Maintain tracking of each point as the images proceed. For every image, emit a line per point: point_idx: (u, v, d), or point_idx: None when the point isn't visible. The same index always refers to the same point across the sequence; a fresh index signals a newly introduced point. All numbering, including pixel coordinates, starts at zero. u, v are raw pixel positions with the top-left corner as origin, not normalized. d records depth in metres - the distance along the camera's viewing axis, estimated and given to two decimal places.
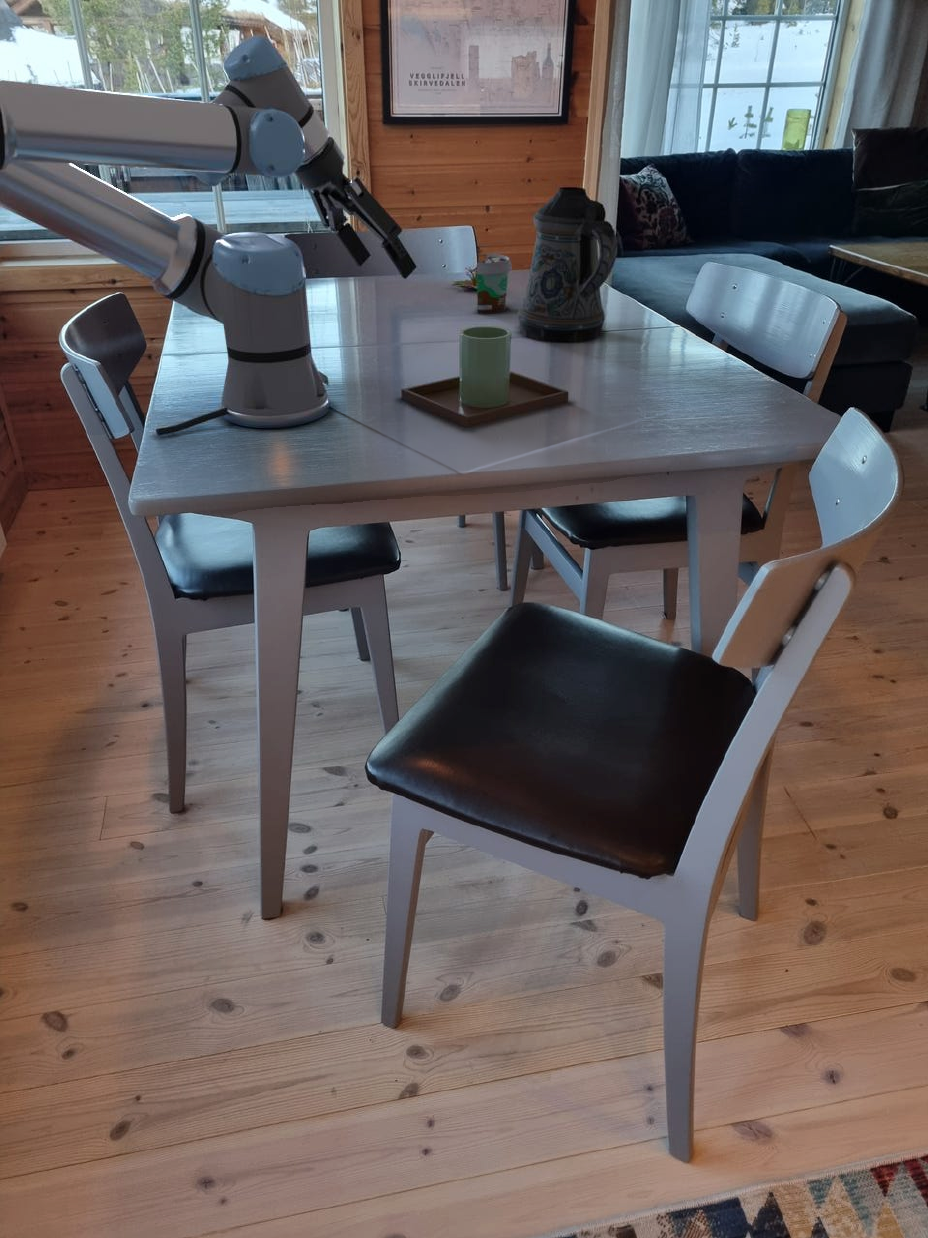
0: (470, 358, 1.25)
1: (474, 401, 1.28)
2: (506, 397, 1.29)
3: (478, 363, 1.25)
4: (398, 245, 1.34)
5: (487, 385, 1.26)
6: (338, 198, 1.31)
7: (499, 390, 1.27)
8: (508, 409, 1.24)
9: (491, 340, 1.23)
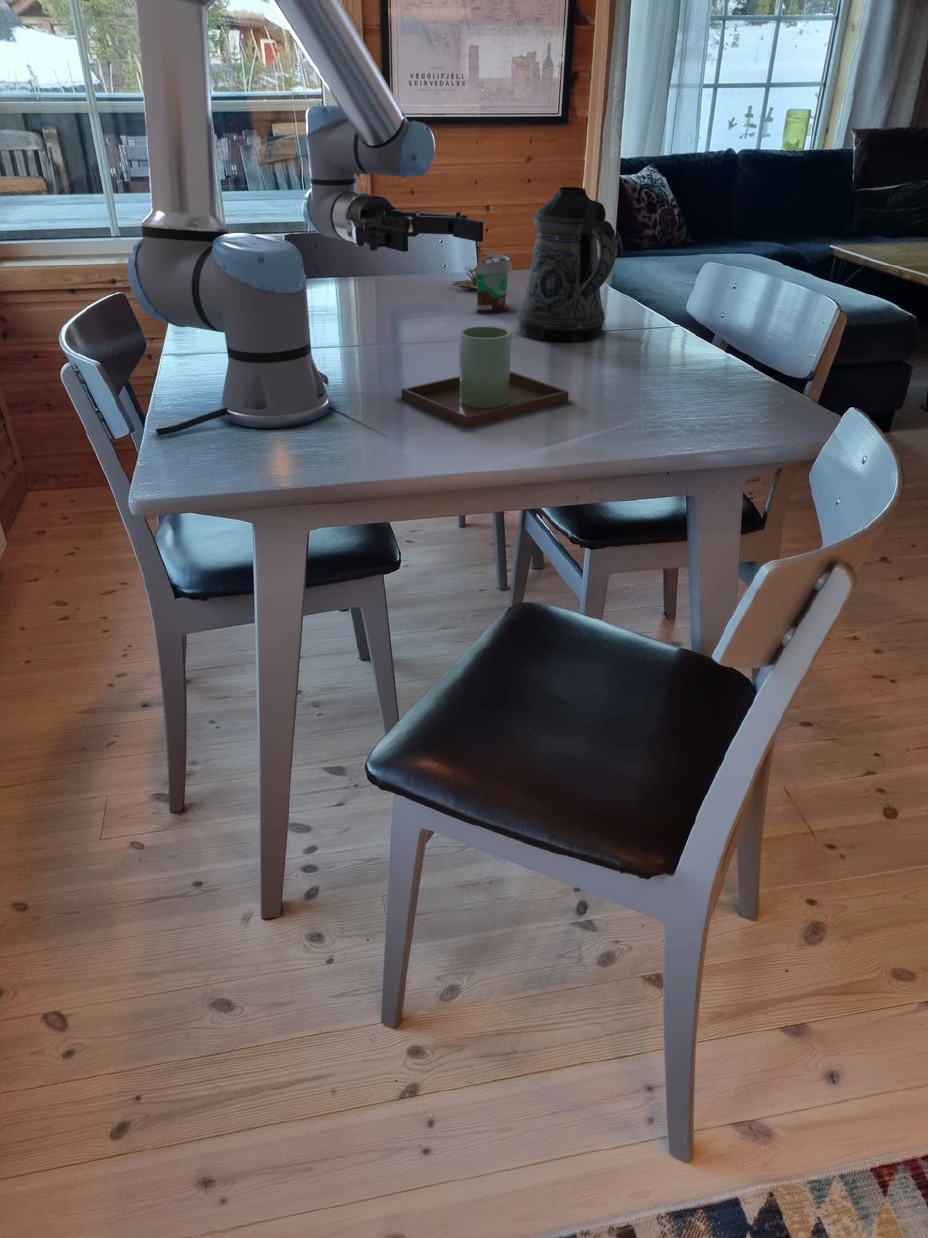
0: (470, 358, 1.25)
1: (474, 401, 1.28)
2: (506, 397, 1.29)
3: (478, 363, 1.25)
4: None
5: (487, 385, 1.26)
6: None
7: (499, 390, 1.27)
8: (508, 409, 1.24)
9: (491, 340, 1.23)
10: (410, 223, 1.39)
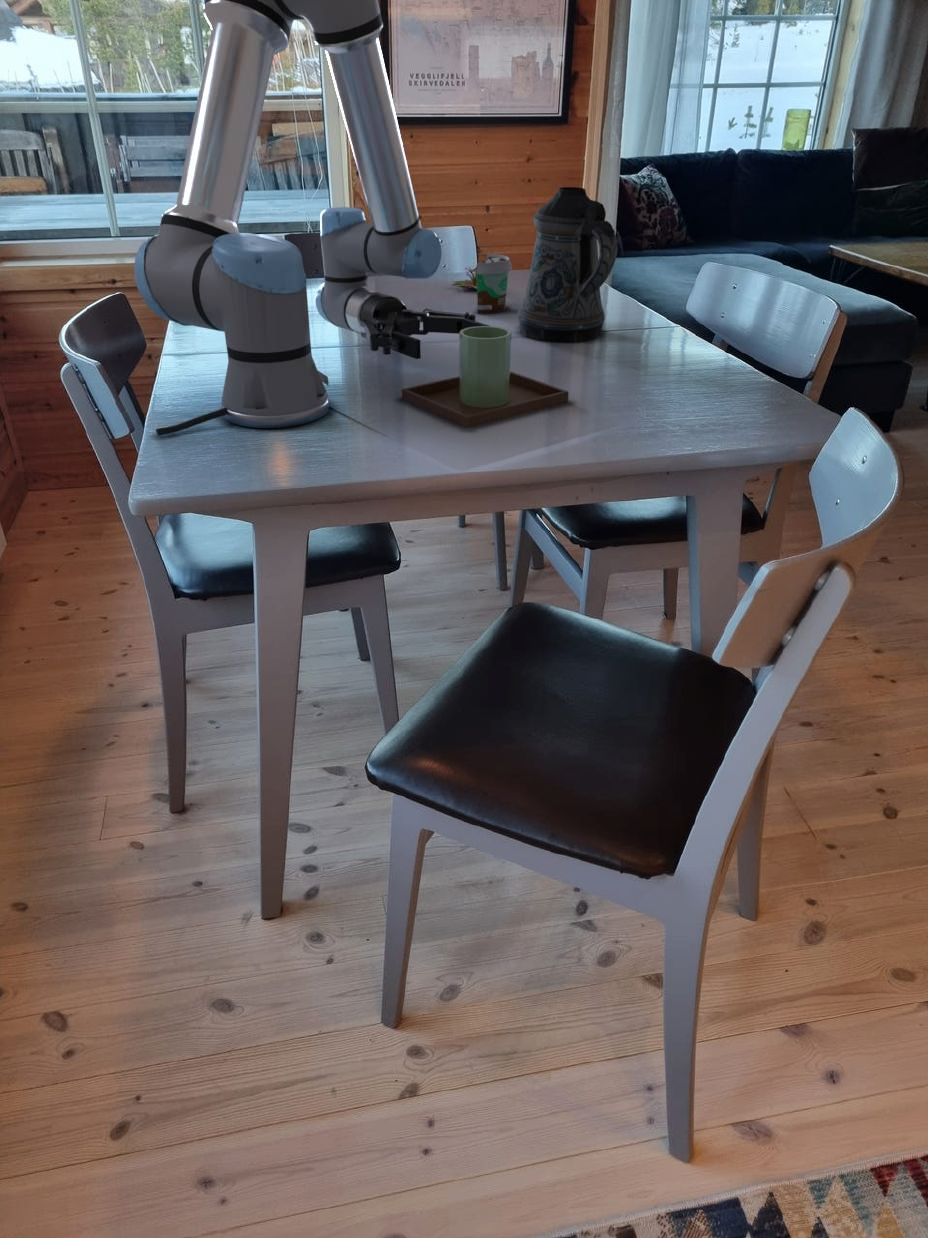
0: (470, 358, 1.25)
1: (474, 401, 1.28)
2: (506, 397, 1.29)
3: (478, 363, 1.25)
4: None
5: (487, 385, 1.26)
6: None
7: (499, 390, 1.27)
8: (508, 409, 1.24)
9: (491, 340, 1.23)
10: (420, 321, 1.45)
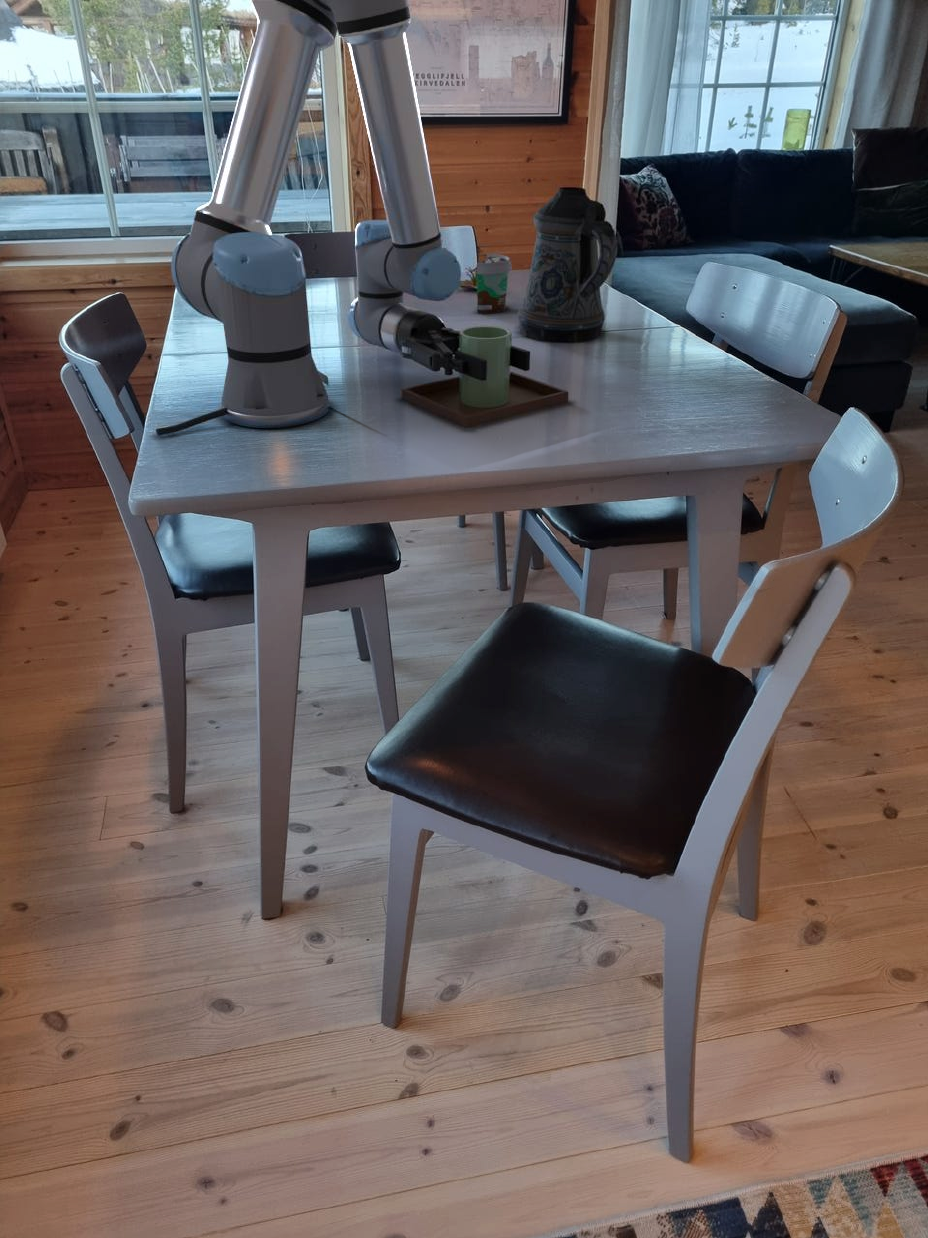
0: None
1: (474, 401, 1.28)
2: (506, 397, 1.29)
3: None
4: None
5: (486, 385, 1.26)
6: None
7: (499, 390, 1.27)
8: (508, 409, 1.24)
9: (491, 340, 1.23)
10: None
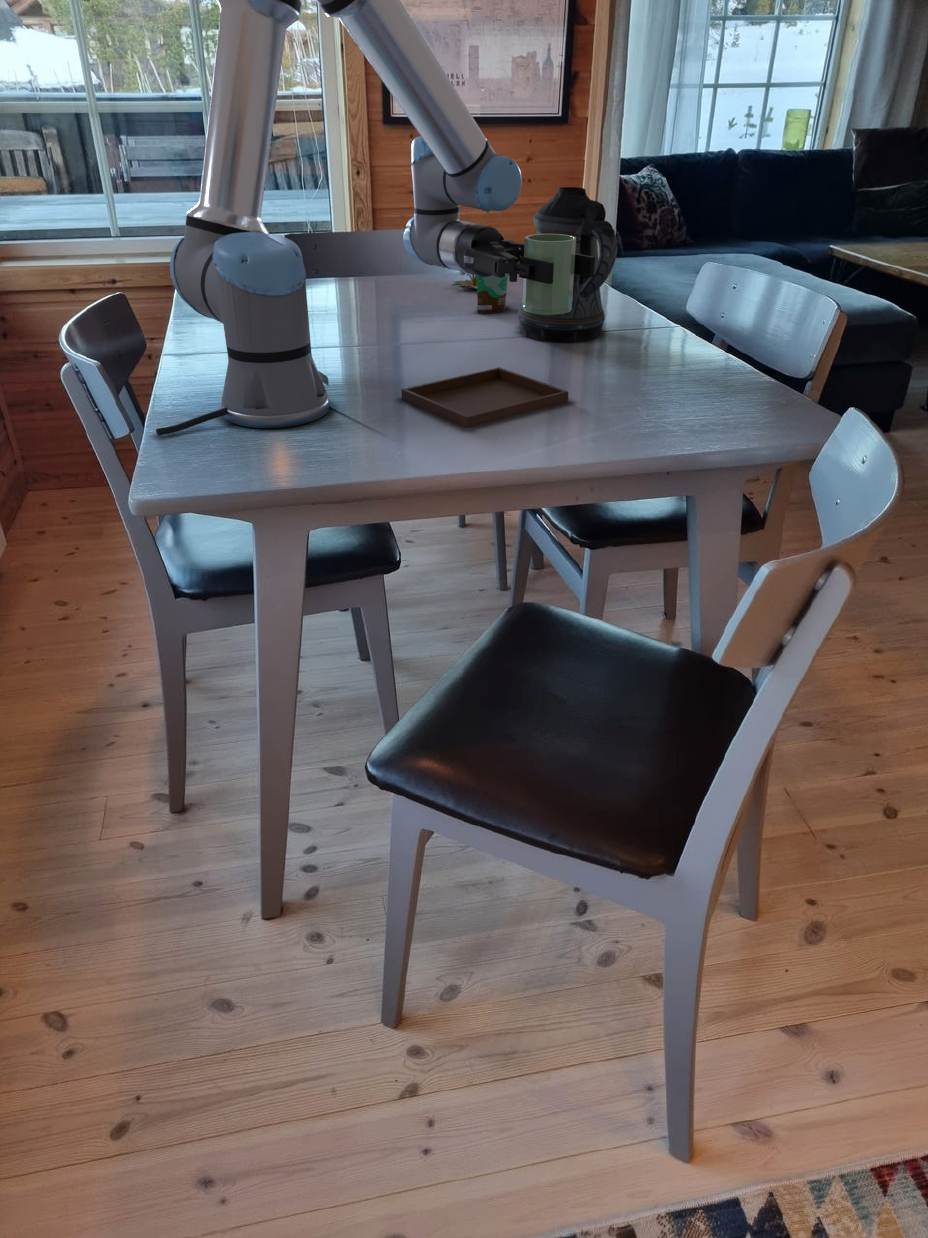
0: None
1: (538, 308, 1.28)
2: (570, 305, 1.29)
3: None
4: None
5: (551, 291, 1.26)
6: None
7: (564, 297, 1.28)
8: (508, 409, 1.24)
9: (558, 243, 1.23)
10: (520, 253, 1.38)
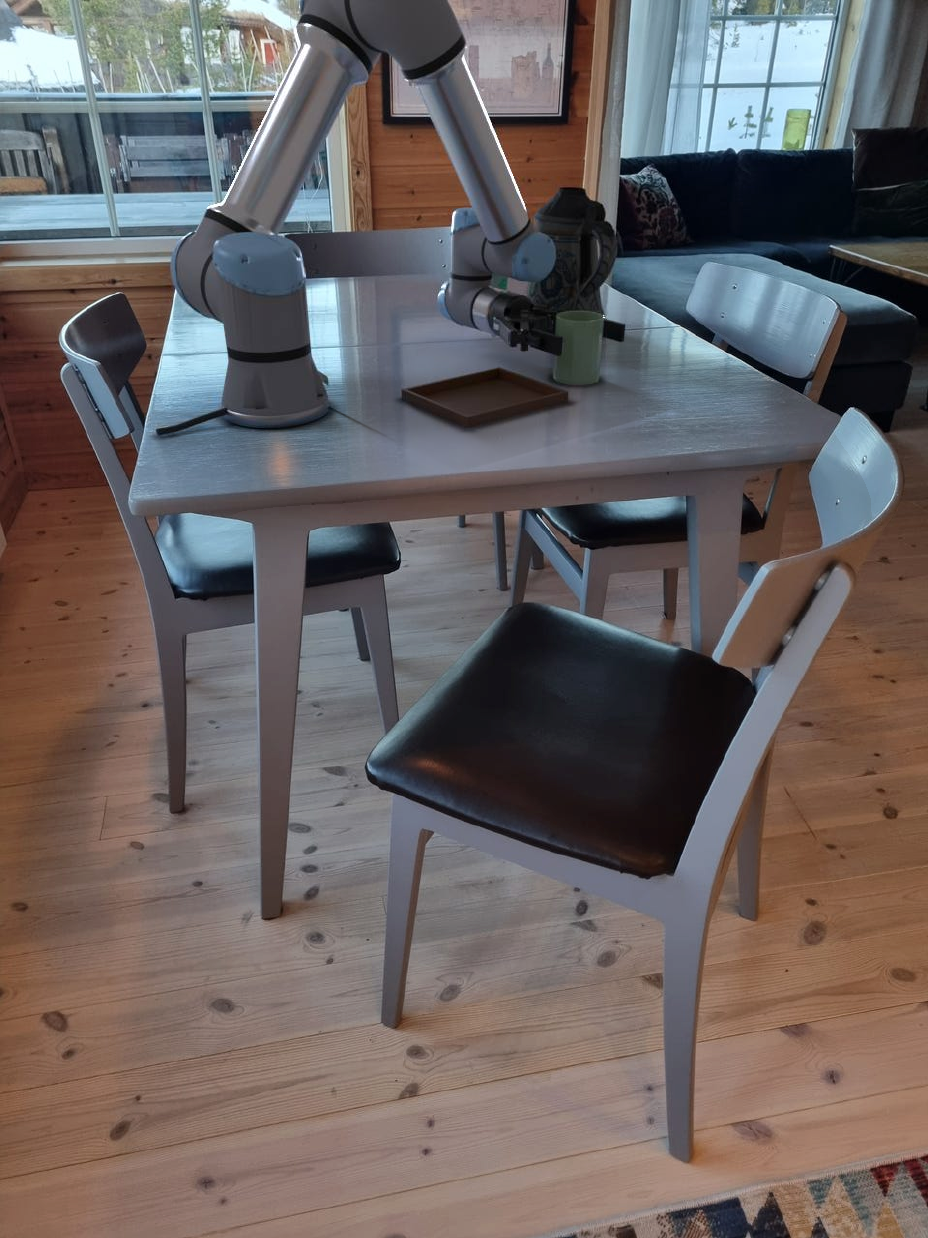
0: (566, 340, 1.35)
1: (568, 380, 1.38)
2: (597, 376, 1.39)
3: (574, 344, 1.35)
4: None
5: (581, 365, 1.36)
6: None
7: (592, 370, 1.38)
8: (508, 409, 1.24)
9: (587, 323, 1.33)
10: None
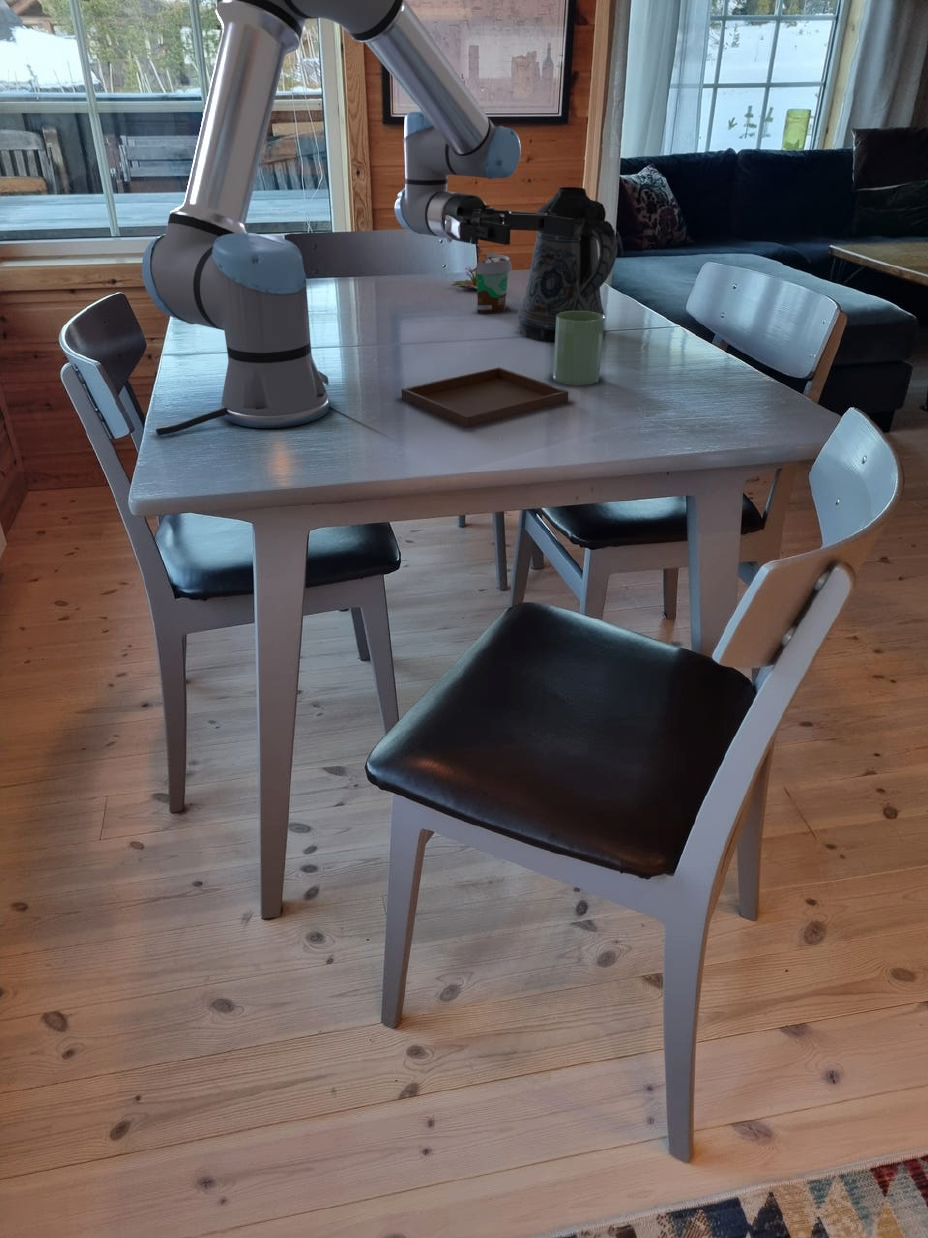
0: (566, 340, 1.35)
1: (568, 380, 1.38)
2: (597, 376, 1.39)
3: (574, 344, 1.35)
4: None
5: (581, 365, 1.36)
6: None
7: (592, 370, 1.38)
8: (508, 409, 1.24)
9: (587, 323, 1.33)
10: (501, 220, 1.49)
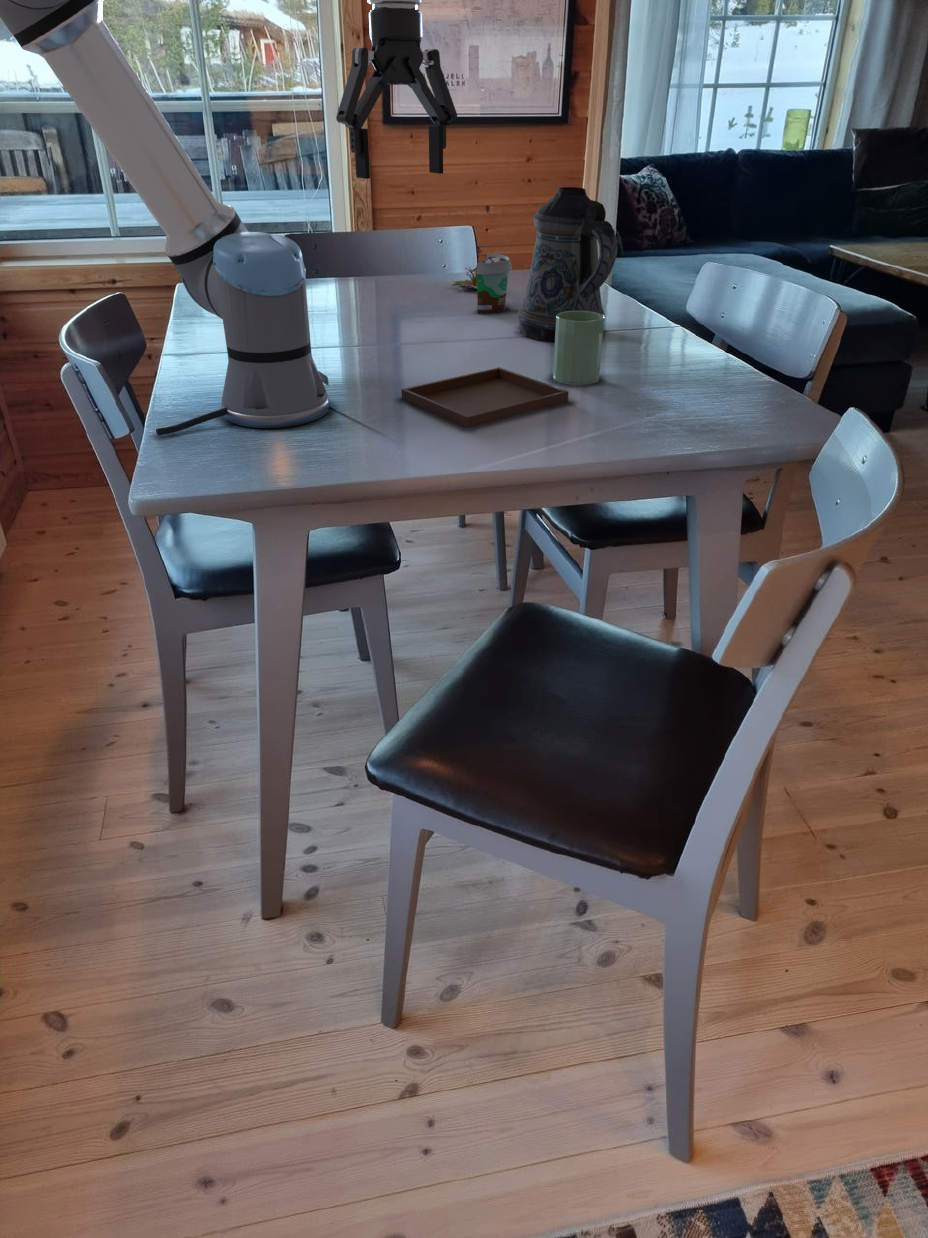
0: (566, 340, 1.35)
1: (568, 380, 1.38)
2: (597, 376, 1.39)
3: (574, 344, 1.35)
4: (352, 137, 1.27)
5: (581, 365, 1.36)
6: None
7: (592, 370, 1.38)
8: (508, 409, 1.24)
9: (587, 323, 1.33)
10: (372, 59, 1.24)
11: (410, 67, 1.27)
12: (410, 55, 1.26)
